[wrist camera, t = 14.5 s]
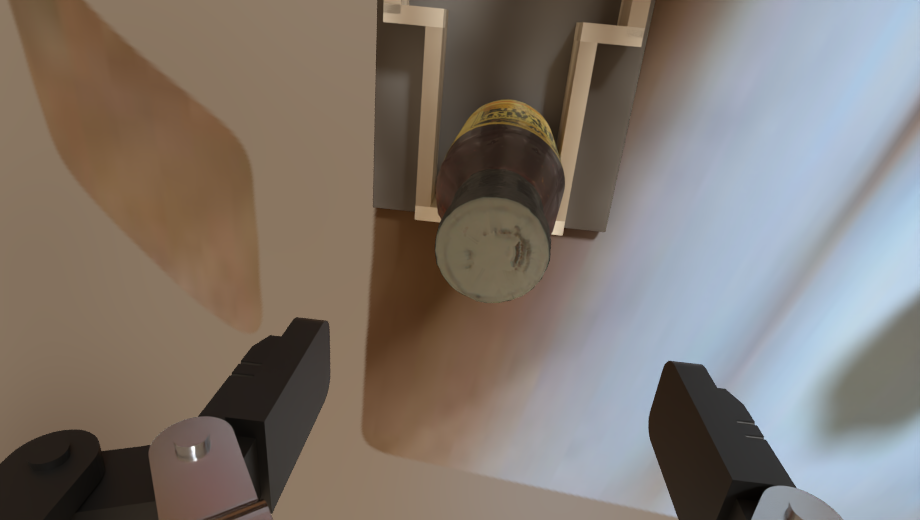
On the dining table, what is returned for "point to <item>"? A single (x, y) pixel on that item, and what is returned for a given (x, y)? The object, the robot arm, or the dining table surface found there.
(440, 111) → the keyhole board
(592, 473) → the dining table surface
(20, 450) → the robot arm
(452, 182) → the sauce bottle
